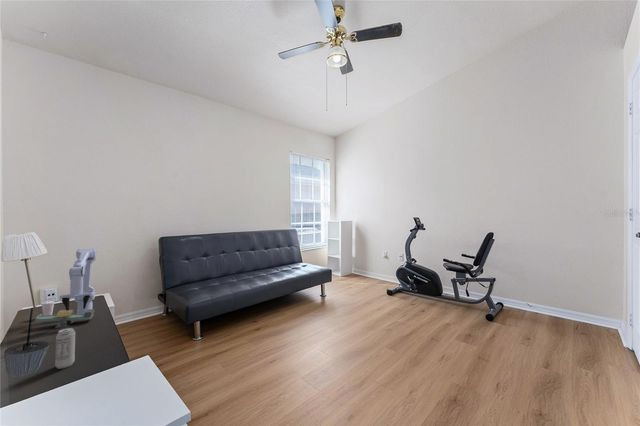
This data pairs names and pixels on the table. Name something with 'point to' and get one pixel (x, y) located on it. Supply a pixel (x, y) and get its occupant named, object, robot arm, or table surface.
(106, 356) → the table surface
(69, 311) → the block
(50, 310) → the smoothie
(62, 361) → the energy drink can
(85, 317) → the beam
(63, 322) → the pivot stand
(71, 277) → the robot arm
